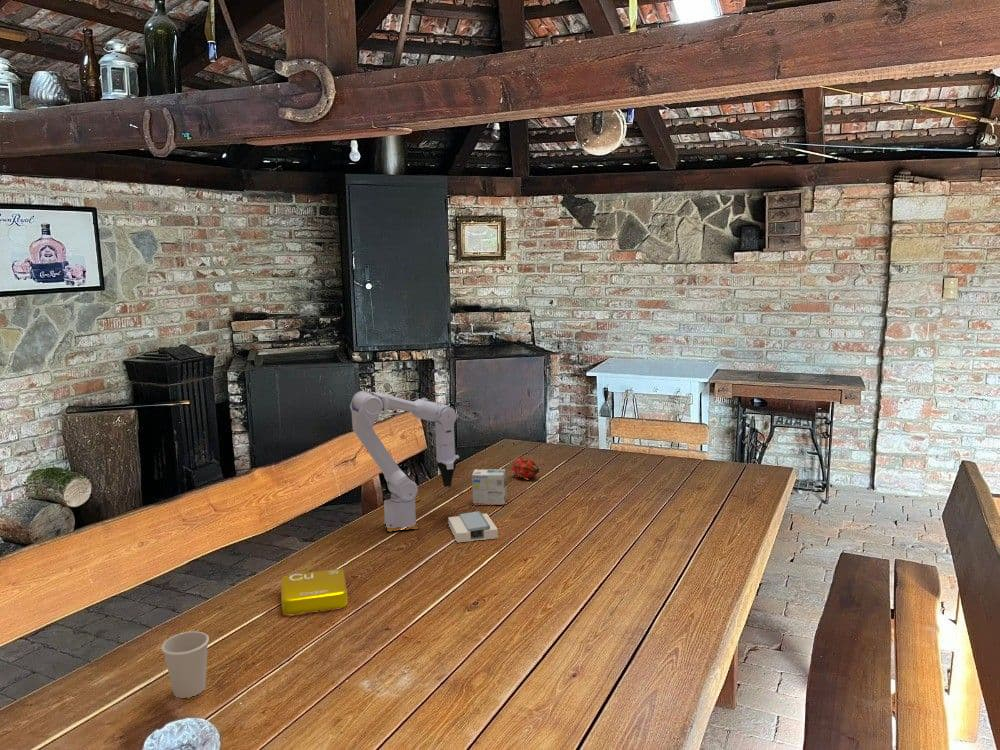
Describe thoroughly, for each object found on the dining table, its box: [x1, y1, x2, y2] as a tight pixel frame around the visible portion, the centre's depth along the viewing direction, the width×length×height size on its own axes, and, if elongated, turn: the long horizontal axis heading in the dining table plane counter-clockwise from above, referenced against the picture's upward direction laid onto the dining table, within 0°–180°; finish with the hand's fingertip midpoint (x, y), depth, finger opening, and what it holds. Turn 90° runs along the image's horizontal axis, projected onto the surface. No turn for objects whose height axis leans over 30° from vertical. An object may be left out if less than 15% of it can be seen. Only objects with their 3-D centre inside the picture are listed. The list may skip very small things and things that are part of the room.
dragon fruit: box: [510, 456, 540, 479], centre depth 275 cm, size 8×8×12 cm
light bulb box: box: [471, 468, 507, 505], centre depth 248 cm, size 11×7×11 cm, turn 84°
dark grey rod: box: [470, 530, 479, 538], centre depth 222 cm, size 2×10×2 cm
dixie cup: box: [160, 630, 210, 698], centre depth 143 cm, size 8×8×10 cm
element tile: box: [280, 568, 349, 614], centre depth 181 cm, size 15×15×5 cm
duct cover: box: [459, 510, 490, 532], centre depth 222 cm, size 6×13×1 cm, turn 14°
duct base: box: [447, 513, 499, 542], centre depth 222 cm, size 12×14×3 cm
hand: (447, 485), depth 234 cm, fingers closed
